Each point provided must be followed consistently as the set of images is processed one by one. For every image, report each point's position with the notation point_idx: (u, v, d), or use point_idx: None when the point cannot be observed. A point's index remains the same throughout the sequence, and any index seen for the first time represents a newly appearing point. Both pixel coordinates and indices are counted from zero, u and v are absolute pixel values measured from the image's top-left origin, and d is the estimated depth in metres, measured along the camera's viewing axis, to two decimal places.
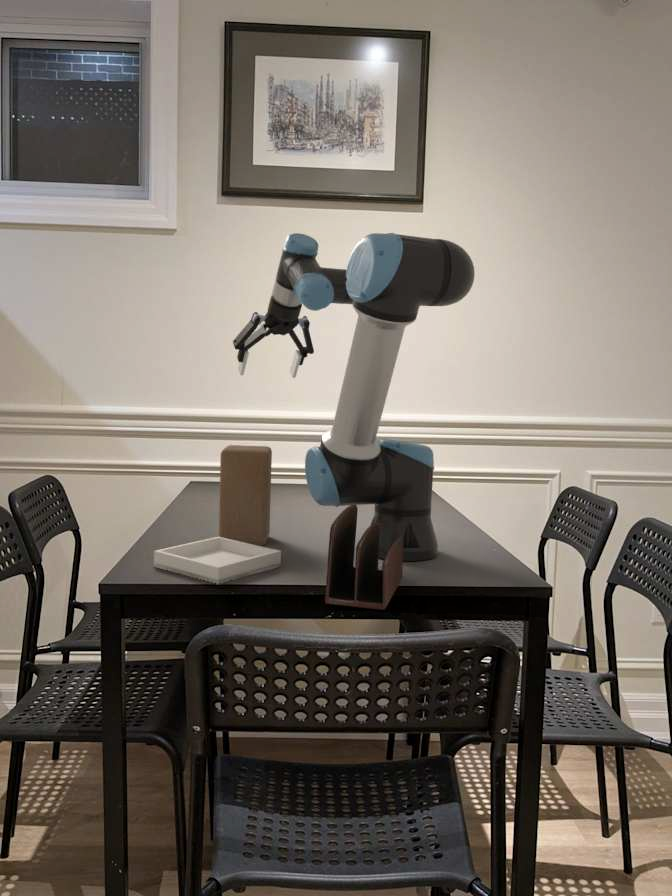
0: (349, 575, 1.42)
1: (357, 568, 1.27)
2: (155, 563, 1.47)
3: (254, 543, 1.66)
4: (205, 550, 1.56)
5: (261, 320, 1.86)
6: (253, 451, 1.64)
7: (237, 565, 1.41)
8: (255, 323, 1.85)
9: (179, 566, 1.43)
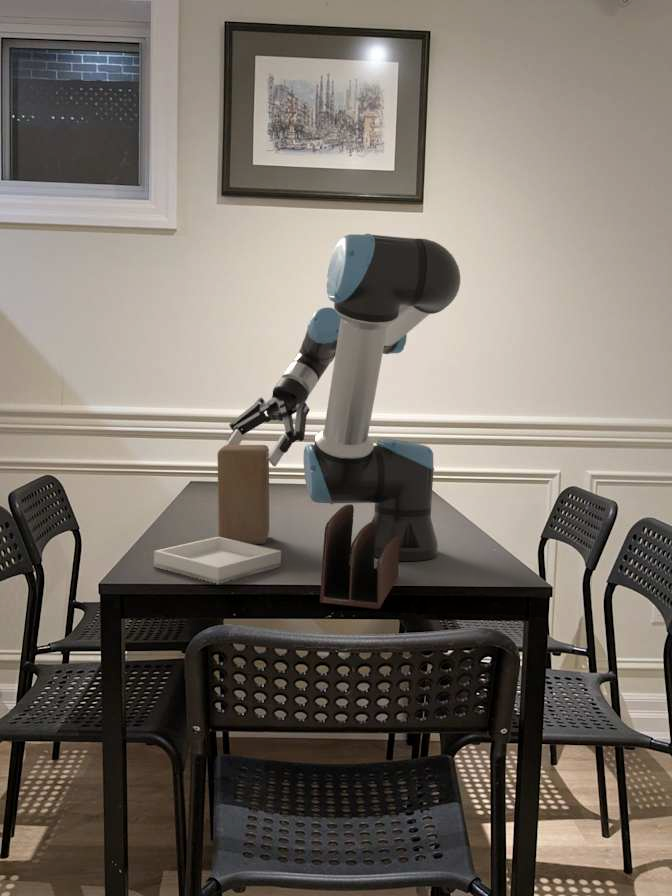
0: (345, 574, 1.42)
1: (352, 567, 1.28)
2: (155, 563, 1.47)
3: (254, 542, 1.66)
4: (205, 550, 1.56)
5: (264, 403, 1.80)
6: (250, 450, 1.64)
7: (237, 565, 1.41)
8: (256, 402, 1.80)
9: (179, 566, 1.43)
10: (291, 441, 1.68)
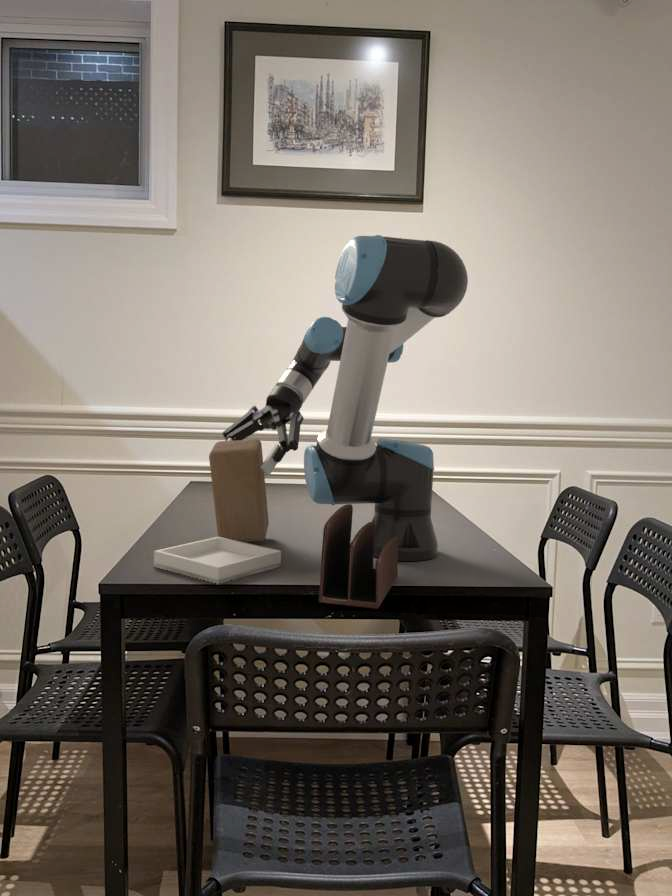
0: (344, 574, 1.43)
1: (350, 567, 1.28)
2: (155, 563, 1.47)
3: (253, 540, 1.65)
4: (205, 550, 1.56)
5: (257, 412, 1.77)
6: (241, 450, 1.61)
7: (237, 565, 1.41)
8: (249, 410, 1.78)
9: (179, 566, 1.43)
10: (285, 451, 1.66)
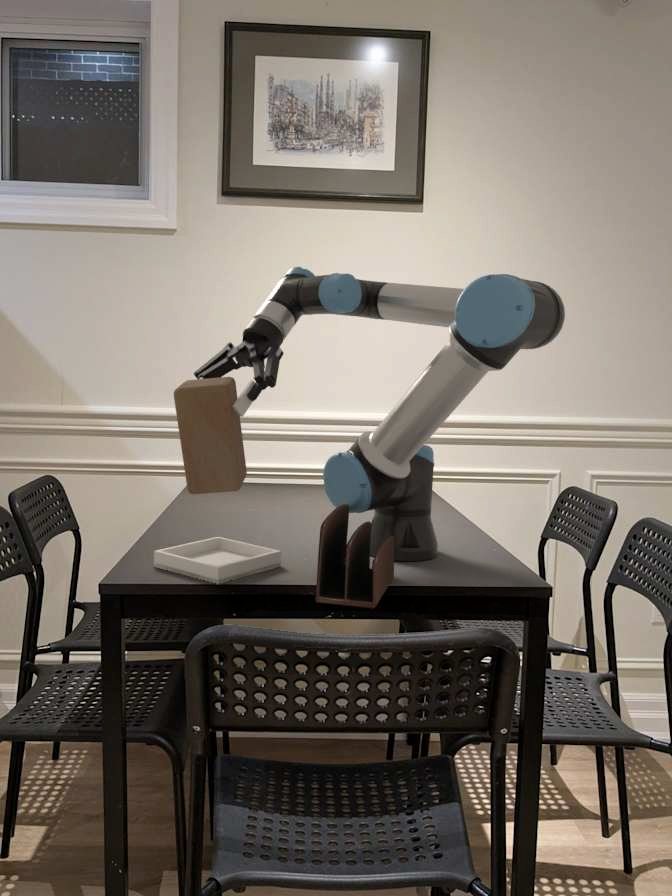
0: (341, 574, 1.43)
1: (347, 567, 1.28)
2: (155, 563, 1.47)
3: (227, 490, 1.46)
4: (205, 550, 1.56)
5: (233, 349, 1.58)
6: (210, 387, 1.41)
7: (237, 565, 1.41)
8: (224, 348, 1.58)
9: (179, 566, 1.43)
10: (261, 388, 1.46)
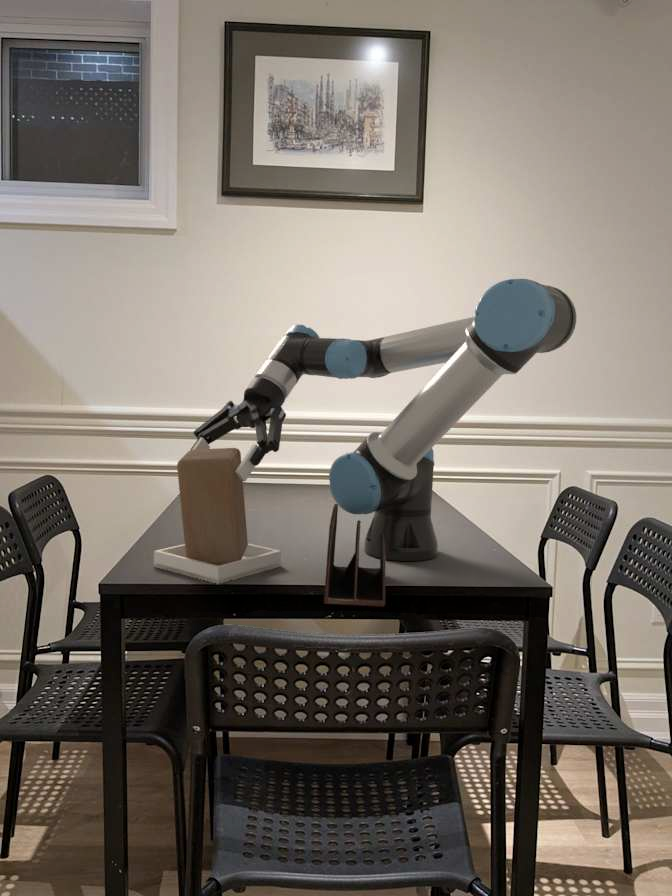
0: (334, 574, 1.43)
1: (357, 567, 1.28)
2: (155, 563, 1.47)
3: None
4: None
5: (234, 408, 1.55)
6: (214, 460, 1.40)
7: (237, 565, 1.41)
8: (225, 406, 1.56)
9: (179, 566, 1.43)
10: (264, 452, 1.44)
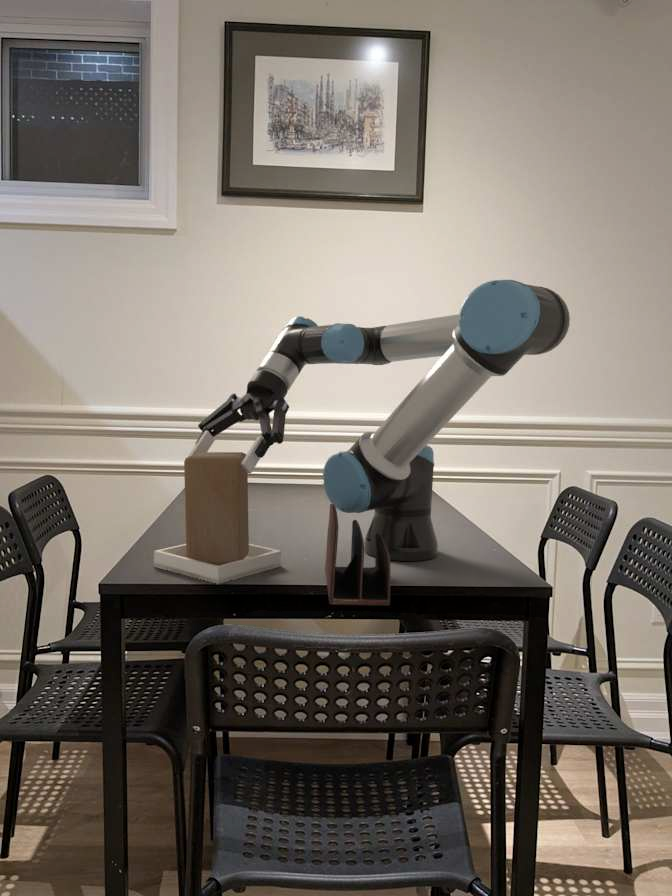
0: None
1: (362, 567, 1.28)
2: (155, 563, 1.47)
3: None
4: None
5: (237, 400, 1.58)
6: (220, 457, 1.42)
7: (237, 565, 1.41)
8: (228, 399, 1.58)
9: (179, 566, 1.43)
10: (268, 444, 1.46)
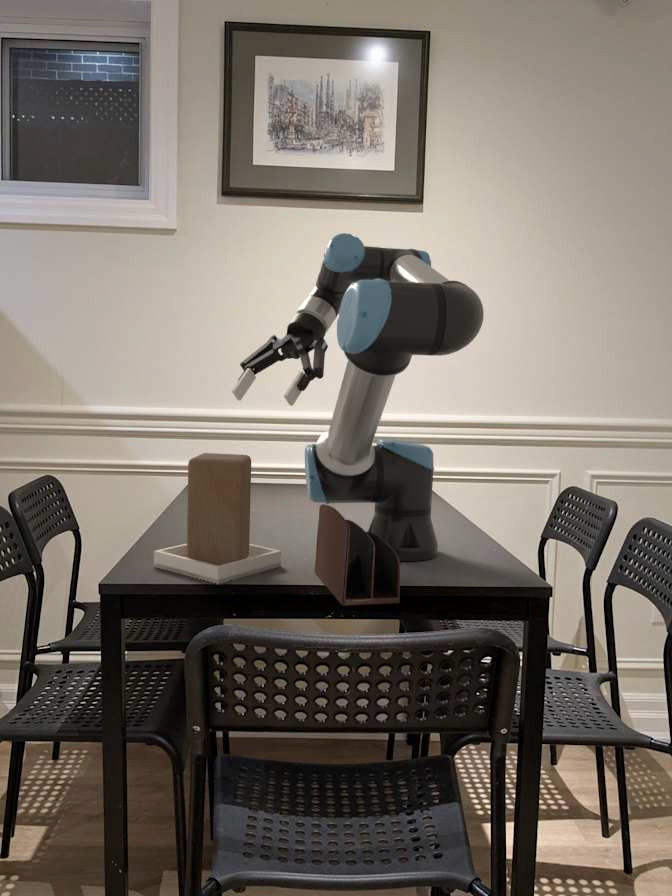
0: None
1: (373, 566, 1.29)
2: (155, 563, 1.47)
3: None
4: None
5: (277, 341, 1.66)
6: (225, 460, 1.42)
7: (237, 565, 1.41)
8: (269, 340, 1.66)
9: (179, 566, 1.43)
10: (309, 378, 1.54)
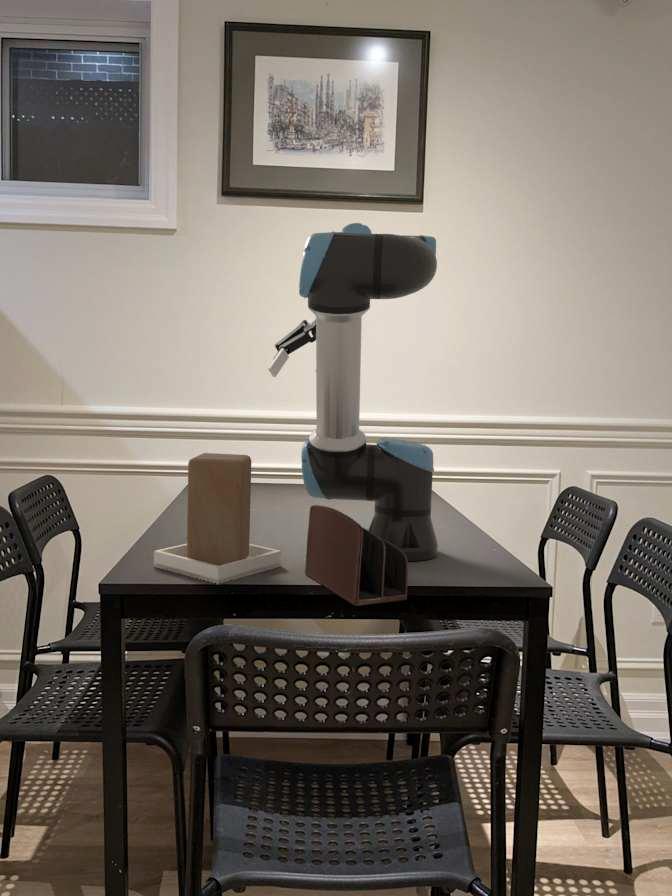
0: None
1: (384, 565, 1.30)
2: (155, 563, 1.47)
3: None
4: None
5: (308, 325, 1.85)
6: (225, 460, 1.42)
7: (237, 565, 1.41)
8: (300, 324, 1.86)
9: (179, 566, 1.43)
10: None
